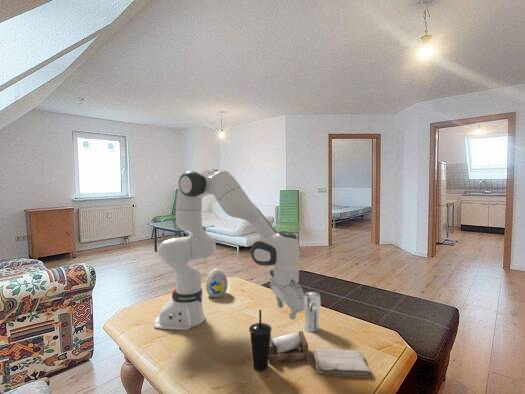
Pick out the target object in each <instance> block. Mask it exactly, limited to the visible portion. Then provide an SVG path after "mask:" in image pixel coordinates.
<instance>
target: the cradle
mask: <svg viewBox="0 0 525 394" xmlns="http://www.w3.org/2000/svg"><path fill="white" fill-rule="evenodd" d="M298 335H299V337H300V341H301V346H300V348H296V349H293V350H289V351H286V352H282V353H279V354H277V353H276V352H275V350H274V348H273V339H272V333H270V344H269V356H268V364H274V363H275V364H276V363H279V364H280V363H294V362H295V363H296V362H297V363H298V362H308V361H309V345H308V344H309V343H308V341H307V339H306V336H305V333H304V331H302V330H300V331H298Z"/></svg>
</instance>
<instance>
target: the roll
mask: <svg viewBox="0 0 525 394" xmlns="http://www.w3.org/2000/svg"><path fill="white" fill-rule="evenodd" d="M272 341H273V348H274V350H275V352H276V353H277V354H279V353H282V352H286V351H289V350H293V349H296V348H300V346H301V341H300V337H299V333H298V332H291V333H288V334H284V335H279V336H278V337H273V339H272Z"/></svg>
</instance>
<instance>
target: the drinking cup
mask: <svg viewBox="0 0 525 394" xmlns="http://www.w3.org/2000/svg"><path fill="white" fill-rule="evenodd" d="M258 312H259V314H258V315H259V316H258V320H259V322H257V323H253V324H251V325H250V326H249V329H248V330H249V331H248V332H249V333H250V342H251V352H252V362H253V363H252V364H253V369H254V370H255V371H257V372H264V371H266V370H267V369H268V365H269V361H268V356H269V344H270V333H271V332H272V326H271V325H270V324H268V323H265V322H262V309H259V311H258ZM271 334H272V333H271Z"/></svg>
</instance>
